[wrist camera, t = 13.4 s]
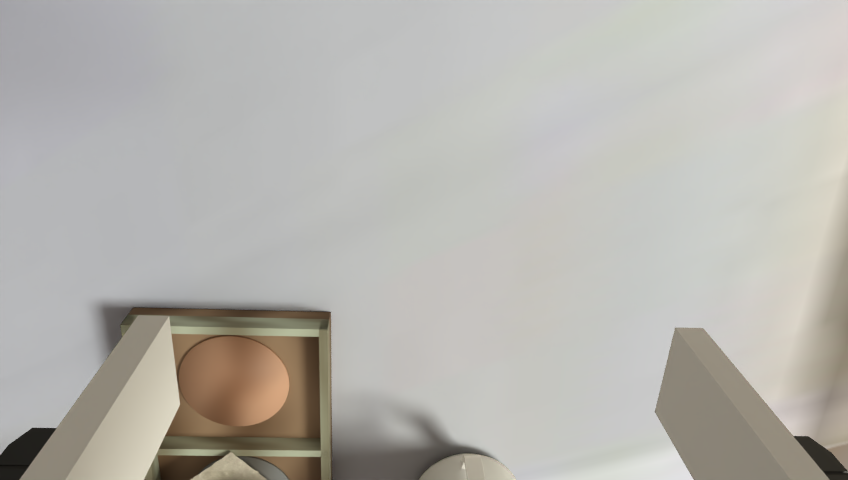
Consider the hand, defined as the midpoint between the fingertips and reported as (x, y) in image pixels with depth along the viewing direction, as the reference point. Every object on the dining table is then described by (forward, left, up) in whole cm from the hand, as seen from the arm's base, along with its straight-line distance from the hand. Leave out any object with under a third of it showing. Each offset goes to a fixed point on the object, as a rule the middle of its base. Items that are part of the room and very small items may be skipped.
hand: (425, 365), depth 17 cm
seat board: (-12, -25, -27) cm, 38 cm away
